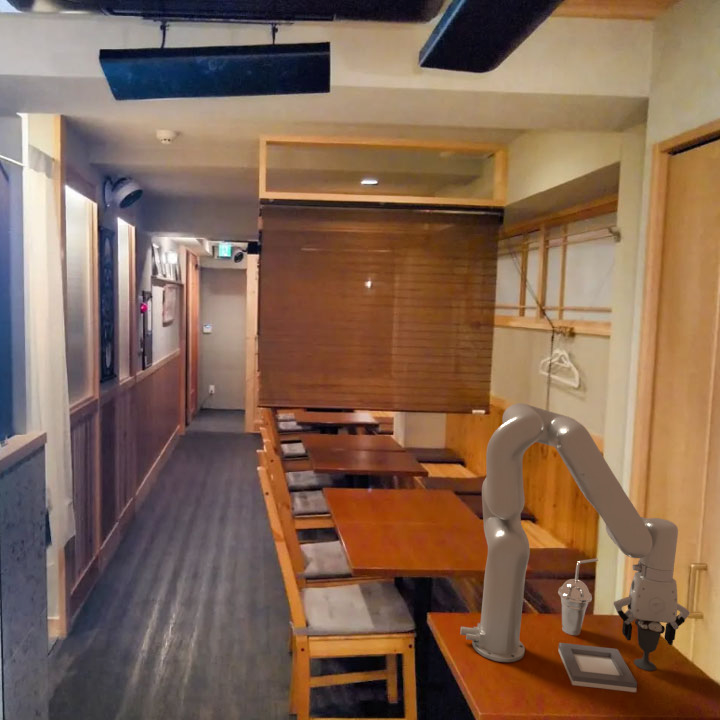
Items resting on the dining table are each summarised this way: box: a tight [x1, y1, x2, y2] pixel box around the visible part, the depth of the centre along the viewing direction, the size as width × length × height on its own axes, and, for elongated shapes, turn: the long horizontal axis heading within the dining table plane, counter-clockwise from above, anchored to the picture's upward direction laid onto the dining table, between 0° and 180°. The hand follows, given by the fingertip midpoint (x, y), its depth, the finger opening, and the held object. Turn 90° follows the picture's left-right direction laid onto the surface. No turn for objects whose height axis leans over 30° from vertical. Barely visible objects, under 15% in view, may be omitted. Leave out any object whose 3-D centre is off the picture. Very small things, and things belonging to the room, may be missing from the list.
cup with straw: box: [557, 558, 599, 636], centre depth 166 cm, size 8×9×20 cm
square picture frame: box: [557, 642, 638, 693], centre depth 149 cm, size 14×14×2 cm
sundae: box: [633, 619, 666, 672], centre depth 152 cm, size 7×7×15 cm
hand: (647, 639), depth 152 cm, fingers open, 9 cm apart
